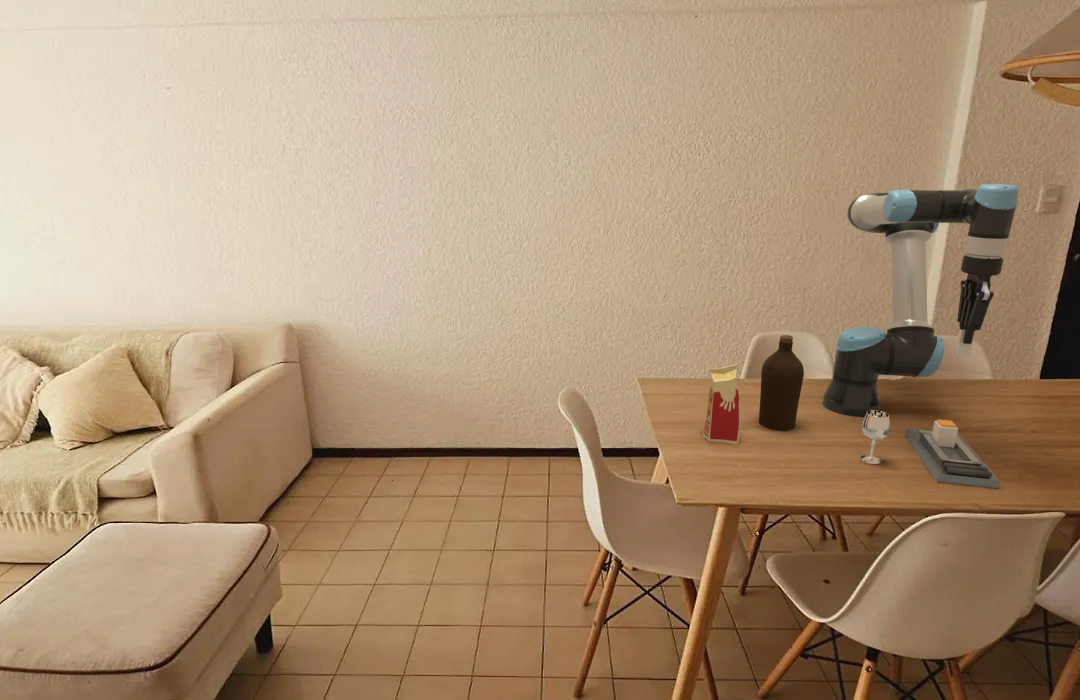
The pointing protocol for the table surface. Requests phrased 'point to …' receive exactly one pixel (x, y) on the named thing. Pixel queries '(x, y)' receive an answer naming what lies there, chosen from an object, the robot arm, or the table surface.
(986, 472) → the twin grey rollers
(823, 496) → the table surface
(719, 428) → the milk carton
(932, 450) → the panel
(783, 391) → the olive oil
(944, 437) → the toggle
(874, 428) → the wineglass
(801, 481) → the table surface
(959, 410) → the table surface
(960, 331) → the robot arm
